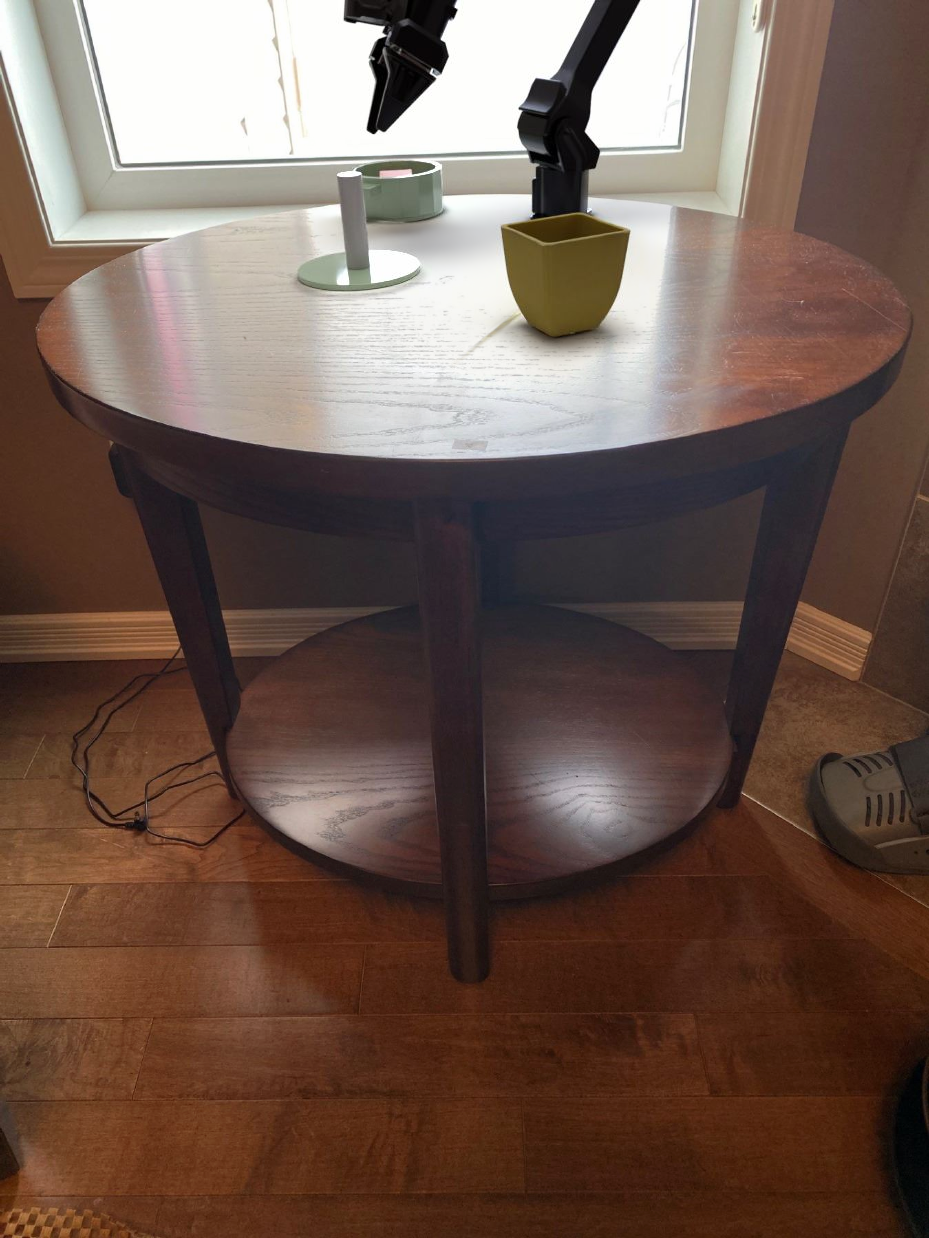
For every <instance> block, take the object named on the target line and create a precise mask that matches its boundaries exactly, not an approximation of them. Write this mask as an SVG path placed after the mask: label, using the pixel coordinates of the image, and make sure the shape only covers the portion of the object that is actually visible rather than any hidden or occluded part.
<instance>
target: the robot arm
mask: <svg viewBox="0 0 929 1238" xmlns="http://www.w3.org/2000/svg"><path fill="white" fill-rule="evenodd" d="M459 1H460V0H344V3H343V4H344V5H343V21H344V22H345V23H349V24H354V25H355V24H357V23H360V24H366V25H372V26H376V27H383V28H382V31H381V34H383V35H385V36H382V37H379V38H377V40H375V41H374V43H373V46H372V48H371V49H370V52H369V55H368V57H367V58H368V59H369V60H368V66H369V68H370V70H371V73H372V75H373V79H374V86H373V92H372V98H371V101H370V102H371V103H370V108H369V113H368V116H367V117H368V118H367V123H366V131H367V132H368V133H369V134H371V135H376V134H377V132H379V131H380V132H382V133H386V132H387V131H388V130H389V129H390V128H391V127H392V126H393V125H394V124H395V123H396V122H397V121H398V120H399V118H400V117H402V115H403V114H404V113H405V112H406V111H407V110H408V109H409V108H411V106H412V105H413V104H414V103H415V102H416V101H417V100H418V99H419V98H420V97H421V96H422V95H423V94H424V93H425V92H426V91H427V90H428V89H429V88H430V87H431V86H432V85H433V84H434V83H435V82H436V81H437V77H439V76H441V75H442V74H443V71H444V69H445V67H446V65H447V62H448V60H449V58H450V54H449V51H448V47H447V43H446V42H445V41H444V40H443V39H444V37H445V36H446V35H445V34H446V33H447V29H448V27H449V25H450V23H451V22H452V21H454V20H455V18H456V16H457V13H458V11H459V9H458V8H457V7H458V4H459ZM641 1H642V0H594V1H593V3H592V5H591V7H590V9H589V11H588V13H587V15H586V17H585V18H584V21H583V22H582V24H581V26H580V28H579V30H578V32H577V34H576V36H575V38H574V39H573V42H572V43H571V45H570V47H569V50H568V51H567V53H566V56H565V57H564V59H563V61H562V63H561V65H560V67H559V69H558V70H557V71H556V73H554V75H552V76H551V77H550V78H543V77H535V78H534V80H533V81H532V83H531V85H530V88H529V91H528V94H527V96H526V98H525V99H524V101H523V102H522V103H521V105H519V106H518V107H517V109H518V111H521V113H520V114H519V117H518V119H517V124H516V129H517V131H518V138H519V140H520V141H519V142H520V143H521V145H522V146H523V148H525V149H526V152H527V156H528V160H529V162H530V164H533V165H537V166H535V177H534V178H533V179H531V212H532V215H530V216H529V217H530V219H529V220H535V219H541V218H547V217H554V216H560V215H566V214H572V213H584V214H588V215H591V214H592V213H593V211H592V210H593V209H592V208H589V207H588V206H589V182H590V181H589V180H590V170H595V169H596V168H597V165H598V162H599V158H600V155H601V150H600V148H599V146H597V144H596V143H595V142H594V141H593V140H592V138H591V137H590V136H589V135H588V133H587V132H586V130H587V127H588V125H589V122H590V120H591V112H592V100H593V93H594V90H595V88H596V85H597V83H598V82H599V79H600V77H601V76H602V74H603V72H604V70H605V68H606V67H607V65H608V63H609V61H610V59H611V57H612V55H613V54H614V51H615V49H616V48H617V45H618V44H619V42H620V40H621V38H622V36H623V35H624V33H625V31H626V29H627V27H628V25H629V23H630V21H631V20H632V17H633V16H634V13H636V10H637V8H638V6H639V5H640V3H641Z"/></svg>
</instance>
